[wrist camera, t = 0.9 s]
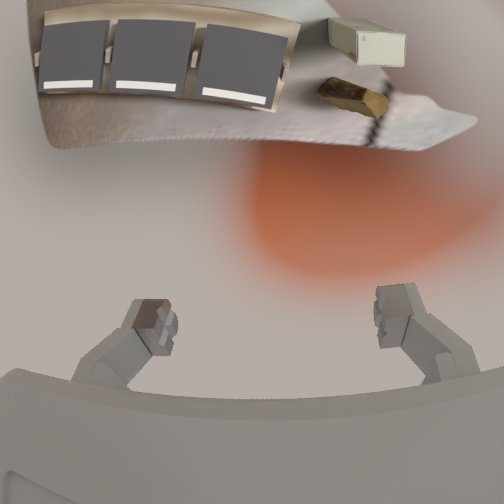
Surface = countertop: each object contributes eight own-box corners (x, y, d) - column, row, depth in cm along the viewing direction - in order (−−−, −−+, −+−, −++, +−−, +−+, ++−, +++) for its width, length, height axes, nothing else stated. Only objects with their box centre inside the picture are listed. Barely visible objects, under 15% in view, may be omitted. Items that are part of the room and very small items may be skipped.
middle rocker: (120, 19, 30) (117, 19, 29) (196, 22, 31) (195, 22, 30) (111, 89, 36) (108, 91, 35) (183, 94, 37) (182, 96, 36)
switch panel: (55, 8, 29) (31, 15, 24) (297, 21, 35) (305, 28, 31) (55, 86, 39) (35, 103, 35) (273, 105, 45) (277, 122, 41)
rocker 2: (208, 24, 32) (207, 23, 31) (286, 38, 33) (288, 37, 32) (194, 95, 37) (193, 97, 36) (270, 107, 39) (271, 109, 38)
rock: (407, 97, 41) (371, 54, 35) (404, 141, 40) (365, 98, 34) (354, 109, 49) (316, 75, 44) (346, 150, 48) (304, 116, 43)
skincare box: (328, 44, 37) (353, 66, 29) (327, 17, 34) (353, 30, 26) (370, 45, 37) (405, 68, 29) (370, 19, 33) (407, 34, 25)
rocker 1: (47, 25, 28) (43, 25, 27) (110, 20, 29) (107, 19, 28) (42, 90, 34) (38, 92, 33) (101, 89, 35) (98, 90, 34)
